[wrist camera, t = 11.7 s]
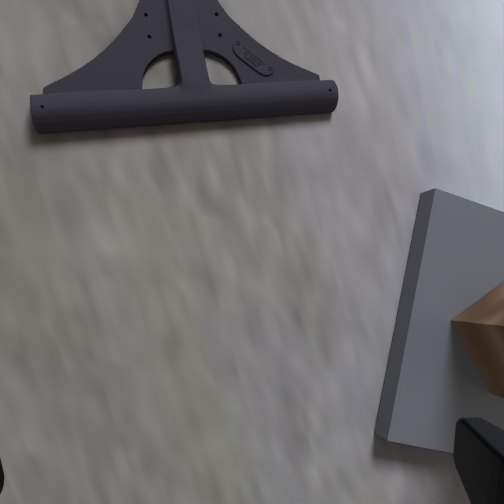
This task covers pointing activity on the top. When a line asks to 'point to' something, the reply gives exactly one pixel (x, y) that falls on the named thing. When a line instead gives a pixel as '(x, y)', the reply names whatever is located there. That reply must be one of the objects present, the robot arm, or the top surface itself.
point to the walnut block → (485, 337)
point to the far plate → (441, 324)
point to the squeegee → (179, 76)
